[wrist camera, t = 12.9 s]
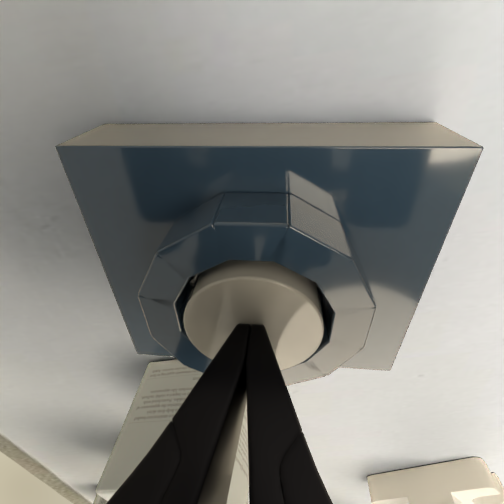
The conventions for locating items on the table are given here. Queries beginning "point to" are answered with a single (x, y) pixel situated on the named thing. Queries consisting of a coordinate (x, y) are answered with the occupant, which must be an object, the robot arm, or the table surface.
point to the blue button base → (272, 221)
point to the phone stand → (438, 484)
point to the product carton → (156, 420)
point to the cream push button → (255, 309)
